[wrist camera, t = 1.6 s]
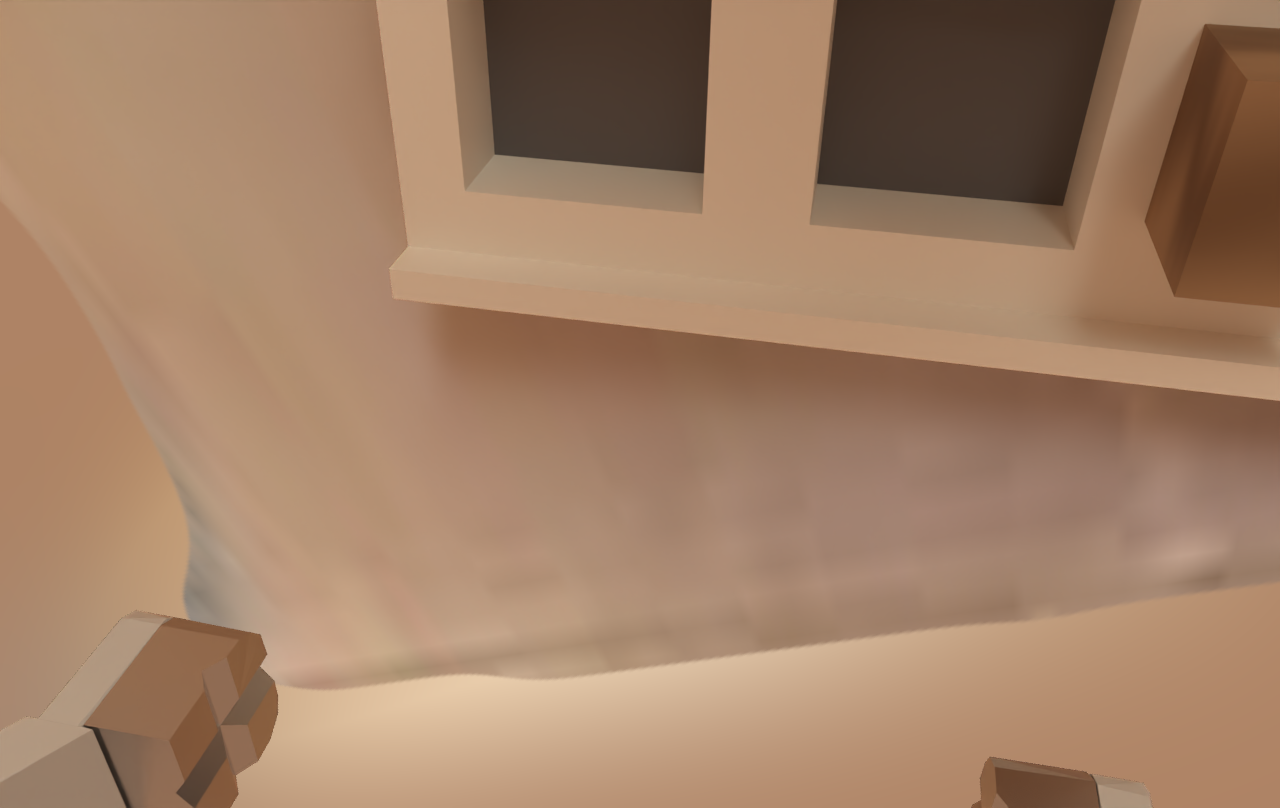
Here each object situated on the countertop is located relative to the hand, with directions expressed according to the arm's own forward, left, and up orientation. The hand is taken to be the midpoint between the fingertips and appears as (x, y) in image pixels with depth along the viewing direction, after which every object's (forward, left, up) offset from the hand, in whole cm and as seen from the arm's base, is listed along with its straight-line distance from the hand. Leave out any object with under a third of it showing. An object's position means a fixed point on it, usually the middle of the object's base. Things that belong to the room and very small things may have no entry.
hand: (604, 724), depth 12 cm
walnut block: (0, +12, -20) cm, 23 cm away
